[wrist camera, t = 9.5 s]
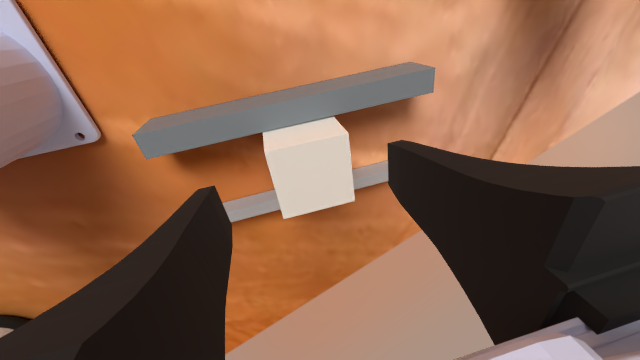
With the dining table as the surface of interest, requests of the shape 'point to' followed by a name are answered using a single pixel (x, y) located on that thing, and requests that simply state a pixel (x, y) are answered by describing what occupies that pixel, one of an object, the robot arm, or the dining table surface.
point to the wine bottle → (10, 324)
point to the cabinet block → (310, 166)
